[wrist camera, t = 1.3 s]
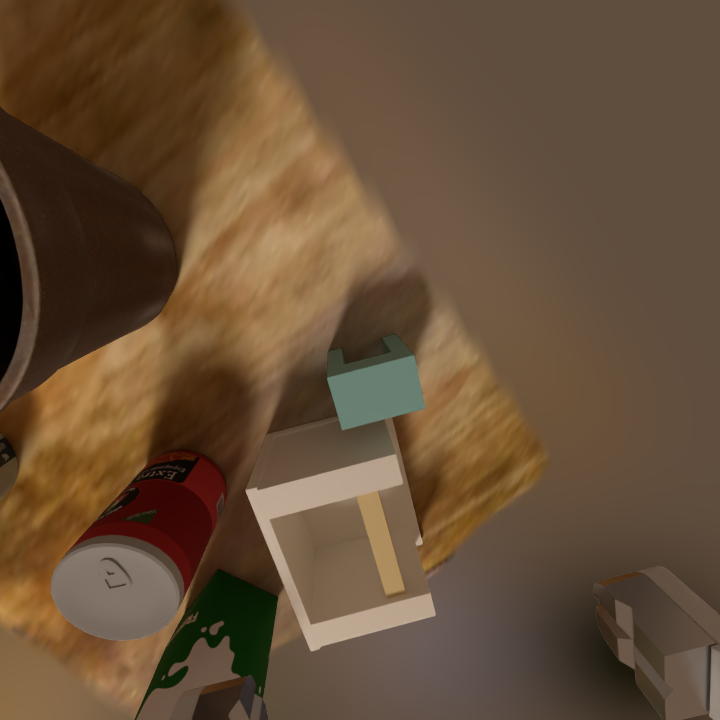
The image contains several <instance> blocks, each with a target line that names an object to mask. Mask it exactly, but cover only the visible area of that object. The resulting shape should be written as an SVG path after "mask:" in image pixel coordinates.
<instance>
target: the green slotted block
mask: <svg viewBox="0 0 720 720" xmlns="http://www.w3.org/2000/svg"><path fill="white" fill-rule="evenodd" d="M382 340H383V344H384V348H385V353H386V354H382V355H379V356H375V357H371V358H367V359H363V360H359V361H356V362H352V363H348V364H346V363H345V360H344V356H343V352H342V348H340V349H336V350H332V351H328V361H327V380H328V383H329V387H330V390H331V394H332V397H333V401H334V404H335V407H336V411H337V414H338V418H339V421H340V425H341V428H342V430H345V429H349V428H353V427H357V426H361V425H364V424H368V423H372V422H376V421H380V420H383V419H387V418H391V417H395V416H399V415H402V414H406V413H410V412H414V411H418V410H422V409H425V404H424V399H423V395H422V390H421V385H420V380H419V376H418V371H417V366H416V361H415V356H414V354H413V353H412V352H411V351H410V350H409V349H408V348H407V346H406V345H405V344H404V343H403V342H402V341H401V340H400V339H399V337H398V336H397V335H396V334H393V335H389V336H386V337H382Z"/></svg>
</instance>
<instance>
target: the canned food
mask: <svg viewBox="0 0 720 720" xmlns="http://www.w3.org/2000/svg"><path fill="white" fill-rule="evenodd" d="M225 500H226V483H225V479H224V476H223V474H222V472H221V471H220V469H219V468H218V467H217V465H216V464H214V463H213V462H212V461H211V460H210V459H208V458H207V457H205V456H203V455H201V454H198V453H195V452H191V451H181V450H180V451H172V452H169V453H166V454H163V455H161V456H159V457H157V458H155V459H154V460H152V461H151V462H150V463H149V464H147V465H146V466H145V467H144V468H143V470H142V471H141V472H140V473H139V474H138V475H137V476H136V477H135V478H134V479H133V480H132V482H131V483H130V484H129V485H128V486H127V487H126V488H125V489H124V490H123V491H122V492H121V494H120V495H119V496H118V497H117V498H116V499H115V500H114V501H113V502H112V503H111V504H110V505H109V507H108V508H107V509H106V510H105V511H104V512H103V513H102V514H101V515H100V516H99V517H98V519H97V520H96V521H95V522H94V523H93V524H92V525H91V526H90V527H89V528H88V529H87V531H86V532H85V533H84V534H83V535H82V536H81V537H80V538H79V539H78V541H77V542H76V543H75V544H74V545H73V546H72V547H71V549H70V550H69V551H68V552H67V553H66V554H65V556H64V557H63V559H62V560H61V561H60V563H59V564H58V566H57V567H56V568H55V570H54V573H53V576H52V579H51V592H52V597H53V600H54V602H55V604H56V607H57V608H58V610H59V611H60V612H61V614H62V615H63V616H64V617H65V618H66V619H67V620H68V621H69V622H70V623H71V624H73V625H74V626H76V627H77V628H79V629H80V630H82V631H84V632H87V633H89V634H91V635H93V636H97V637H100V638H104V639H110V640H135V639H141V638H144V637H147V636H151V635H153V634H155V633H156V632H158V631H160V630H162V629H163V628H164V627H165V626H167V625H168V624H169V623H170V621H171V620H172V619H173V618H174V616H175V614H176V612H177V611H178V609H179V607H180V605H181V603H182V601H183V599H184V596H185V594H186V592H187V590H188V588H189V586H190V584H191V581H192V579H193V577H194V574H195V572H196V570H197V567H198V565H199V563H200V560H201V558H202V556H203V553H204V551H205V549H206V546H207V544H208V542H209V539H210V537H211V535H212V533H213V530H214V528H215V526H216V523H217V521H218V519H219V516H220V514H221V512H222V509H223V507H224V505H225Z"/></svg>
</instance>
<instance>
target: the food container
mask: <svg viewBox="0 0 720 720" xmlns="http://www.w3.org/2000/svg"><path fill="white" fill-rule="evenodd" d="M17 473H18V463H17V458H16V455H15V453H14V450H13V448H12V447H11V445H10V444H9V442H8V441H7V439H6V438H5V437H4V436H3V435H2V434H1V433H0V499H1V498H2V497H3V496H4V495H5V494H6V493H7V492H8V491H9V490H10V489H11V488H12V486H13V485H14V483H15V481H16V478H17Z"/></svg>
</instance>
